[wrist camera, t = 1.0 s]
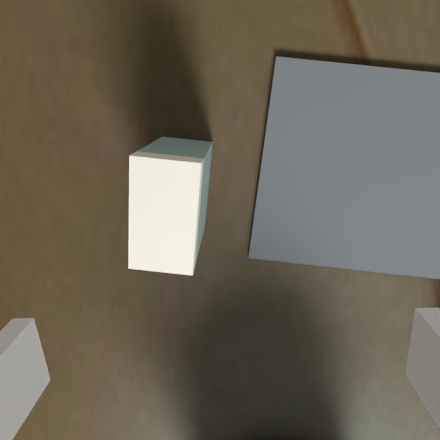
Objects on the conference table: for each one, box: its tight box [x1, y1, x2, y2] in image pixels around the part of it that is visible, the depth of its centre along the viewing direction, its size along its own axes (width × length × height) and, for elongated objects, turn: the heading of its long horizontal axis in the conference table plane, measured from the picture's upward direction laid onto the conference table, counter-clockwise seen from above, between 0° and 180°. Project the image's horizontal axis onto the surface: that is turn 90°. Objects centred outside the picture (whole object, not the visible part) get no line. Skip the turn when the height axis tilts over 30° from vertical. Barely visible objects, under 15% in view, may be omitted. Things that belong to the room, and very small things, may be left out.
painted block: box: [128, 137, 213, 276], centre depth 25 cm, size 4×7×9 cm, turn 175°
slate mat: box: [248, 56, 440, 279], centre depth 28 cm, size 20×16×1 cm
